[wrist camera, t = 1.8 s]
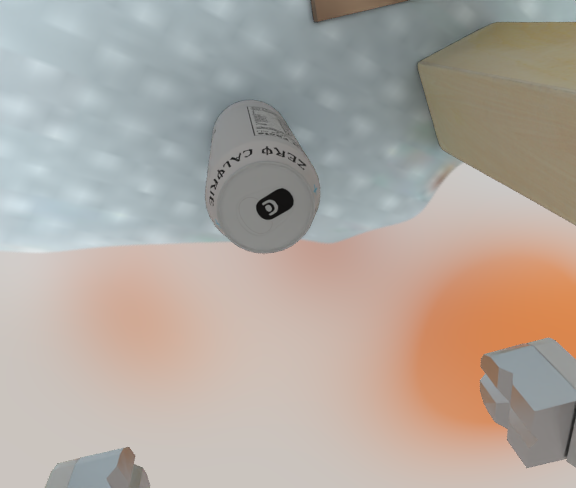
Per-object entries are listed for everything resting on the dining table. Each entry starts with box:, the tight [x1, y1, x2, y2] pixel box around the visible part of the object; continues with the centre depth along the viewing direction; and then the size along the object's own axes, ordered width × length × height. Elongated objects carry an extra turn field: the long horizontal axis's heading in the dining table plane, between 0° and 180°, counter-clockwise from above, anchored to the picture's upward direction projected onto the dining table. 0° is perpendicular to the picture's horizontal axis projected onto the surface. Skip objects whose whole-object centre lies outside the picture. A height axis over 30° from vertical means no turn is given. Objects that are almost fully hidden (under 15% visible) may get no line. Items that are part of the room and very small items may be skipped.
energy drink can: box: [205, 100, 320, 253], centre depth 26 cm, size 6×6×15 cm
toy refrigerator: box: [418, 22, 576, 225], centre depth 24 cm, size 8×7×21 cm
